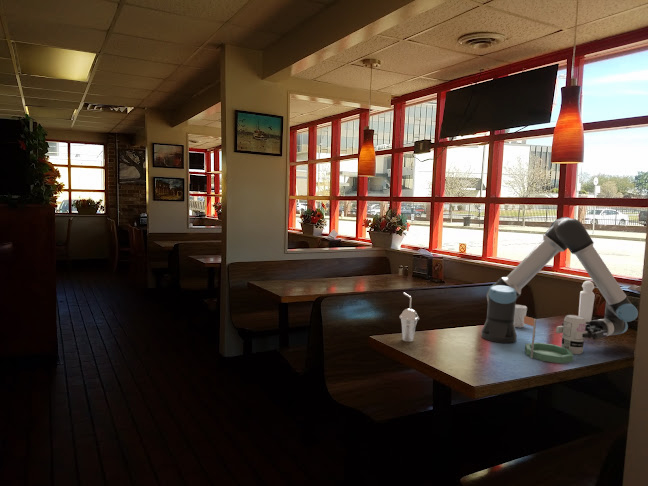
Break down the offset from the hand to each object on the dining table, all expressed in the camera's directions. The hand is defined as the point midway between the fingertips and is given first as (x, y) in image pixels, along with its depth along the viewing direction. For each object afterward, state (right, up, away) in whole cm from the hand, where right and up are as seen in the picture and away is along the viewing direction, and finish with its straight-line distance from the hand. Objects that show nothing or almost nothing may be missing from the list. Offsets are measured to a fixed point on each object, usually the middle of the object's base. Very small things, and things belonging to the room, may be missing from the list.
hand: (566, 332), depth 196 cm
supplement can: (+4, -9, +3) cm, 10 cm away
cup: (-10, -8, -4) cm, 13 cm away
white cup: (-4, -4, +41) cm, 42 cm away
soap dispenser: (+40, -5, +59) cm, 72 cm away
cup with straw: (-65, -5, +8) cm, 66 cm away
